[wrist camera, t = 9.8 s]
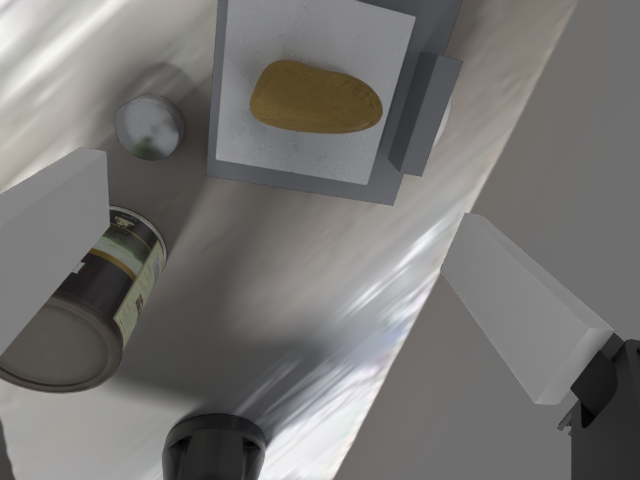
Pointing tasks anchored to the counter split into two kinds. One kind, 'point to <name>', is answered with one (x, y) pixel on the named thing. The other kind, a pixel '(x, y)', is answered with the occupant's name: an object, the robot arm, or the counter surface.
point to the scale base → (402, 120)
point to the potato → (313, 100)
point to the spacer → (150, 127)
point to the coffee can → (89, 312)
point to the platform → (318, 52)
